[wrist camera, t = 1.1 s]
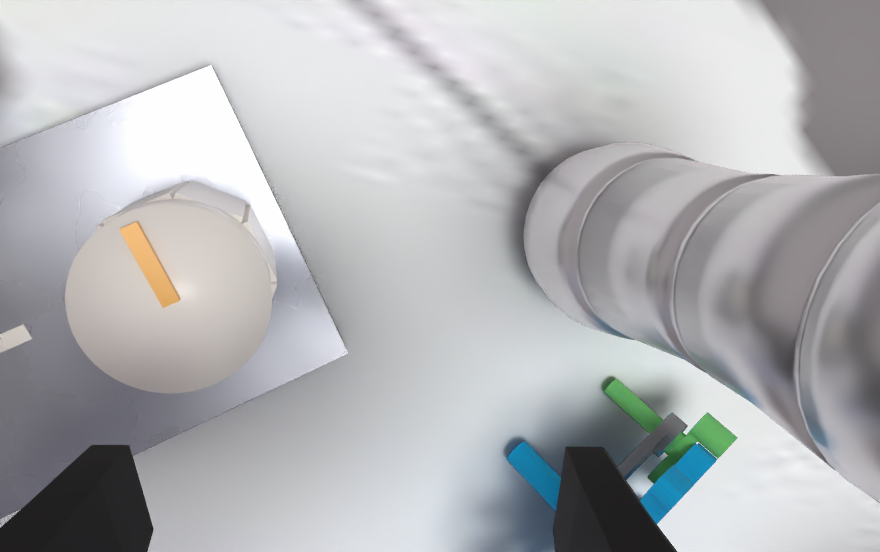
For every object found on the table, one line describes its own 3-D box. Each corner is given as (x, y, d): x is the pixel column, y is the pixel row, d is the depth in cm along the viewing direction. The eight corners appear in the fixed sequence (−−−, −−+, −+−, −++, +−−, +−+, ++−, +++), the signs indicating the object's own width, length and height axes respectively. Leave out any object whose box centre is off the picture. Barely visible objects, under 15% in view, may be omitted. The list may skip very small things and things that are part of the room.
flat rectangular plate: (-118, 562, 21) (-212, 671, 17) (-340, 285, 18) (-521, 333, 14) (344, 344, 24) (362, 392, 19) (213, 68, 21) (201, 52, 17)
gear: (537, 673, 27) (528, 699, 18) (440, 555, 29) (391, 526, 21) (718, 479, 29) (789, 418, 20) (614, 384, 32) (636, 294, 23)
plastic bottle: (551, 108, 24) (1669, 39, 5) (696, 186, 26) (1864, 344, 7) (476, 274, 24) (1215, 779, 6) (624, 336, 27) (1521, 854, 8)
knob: (292, 291, 22) (303, 345, 16) (160, 351, 21) (125, 428, 16) (229, 162, 21) (218, 175, 15) (86, 222, 20) (21, 257, 14)
